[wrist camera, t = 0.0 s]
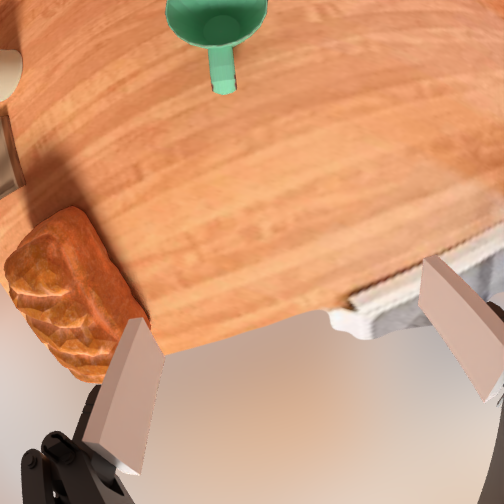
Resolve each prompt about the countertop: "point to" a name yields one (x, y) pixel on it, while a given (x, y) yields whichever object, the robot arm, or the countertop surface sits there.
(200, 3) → the mug
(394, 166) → the countertop surface
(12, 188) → the tray
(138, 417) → the robot arm
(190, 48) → the countertop surface
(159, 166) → the countertop surface
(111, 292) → the bread
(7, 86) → the can
